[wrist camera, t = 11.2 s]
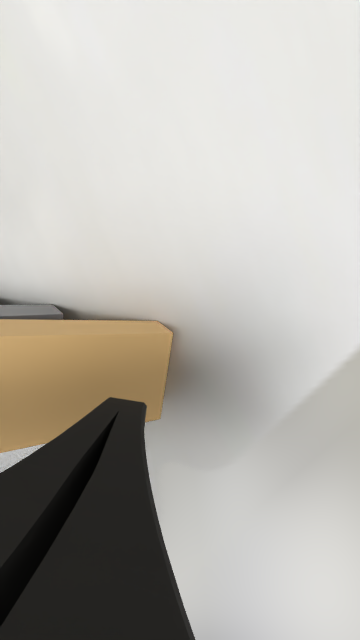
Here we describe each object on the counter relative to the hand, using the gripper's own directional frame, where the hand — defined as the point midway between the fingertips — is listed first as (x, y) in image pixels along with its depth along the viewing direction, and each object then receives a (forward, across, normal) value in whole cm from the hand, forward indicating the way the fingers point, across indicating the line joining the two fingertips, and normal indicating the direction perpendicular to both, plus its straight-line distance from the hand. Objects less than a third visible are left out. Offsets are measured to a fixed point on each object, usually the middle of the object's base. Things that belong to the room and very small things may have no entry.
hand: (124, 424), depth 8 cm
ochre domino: (+5, -1, 0) cm, 5 cm away
